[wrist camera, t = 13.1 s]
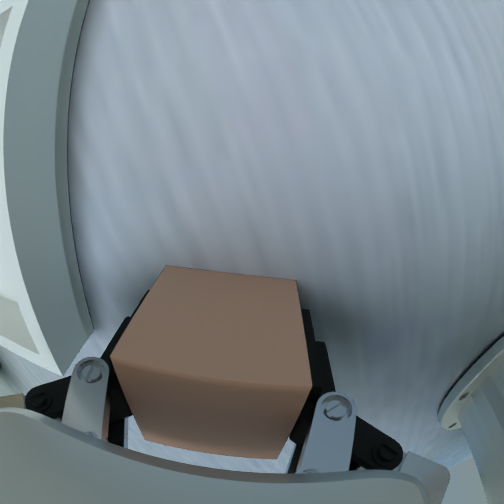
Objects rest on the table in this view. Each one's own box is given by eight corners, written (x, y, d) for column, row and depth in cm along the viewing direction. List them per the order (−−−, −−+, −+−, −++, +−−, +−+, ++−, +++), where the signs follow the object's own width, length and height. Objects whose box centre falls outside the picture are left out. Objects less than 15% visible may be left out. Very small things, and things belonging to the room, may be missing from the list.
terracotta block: (295, 279, 10) (312, 385, 6) (275, 367, 12) (276, 459, 8) (166, 265, 10) (109, 356, 6) (174, 354, 12) (144, 439, 8)
